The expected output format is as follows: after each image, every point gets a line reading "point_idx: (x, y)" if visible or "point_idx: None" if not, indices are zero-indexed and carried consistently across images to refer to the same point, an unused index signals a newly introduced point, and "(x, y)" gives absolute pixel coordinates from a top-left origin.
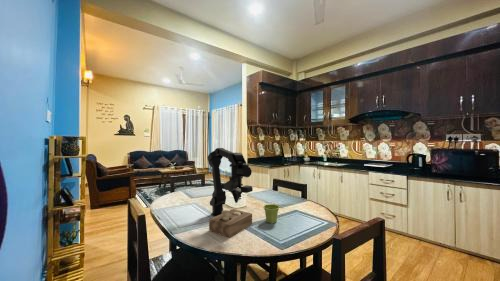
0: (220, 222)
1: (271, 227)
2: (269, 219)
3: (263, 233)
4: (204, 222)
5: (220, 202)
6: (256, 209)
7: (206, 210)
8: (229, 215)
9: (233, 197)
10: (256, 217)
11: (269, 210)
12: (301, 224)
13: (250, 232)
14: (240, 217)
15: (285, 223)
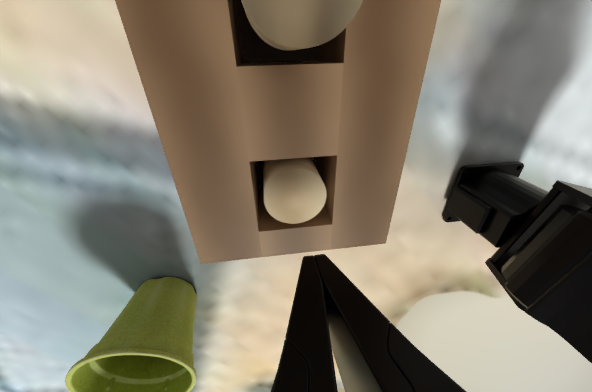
0: None
1: (99, 247)
2: (146, 292)
3: (44, 160)
4: (511, 31)
5: (533, 240)
6: None
7: None
8: (324, 120)
9: (380, 312)
10: (262, 282)
11: (104, 347)
12: (40, 342)
13: (115, 117)
14: (201, 149)
15: (98, 313)
